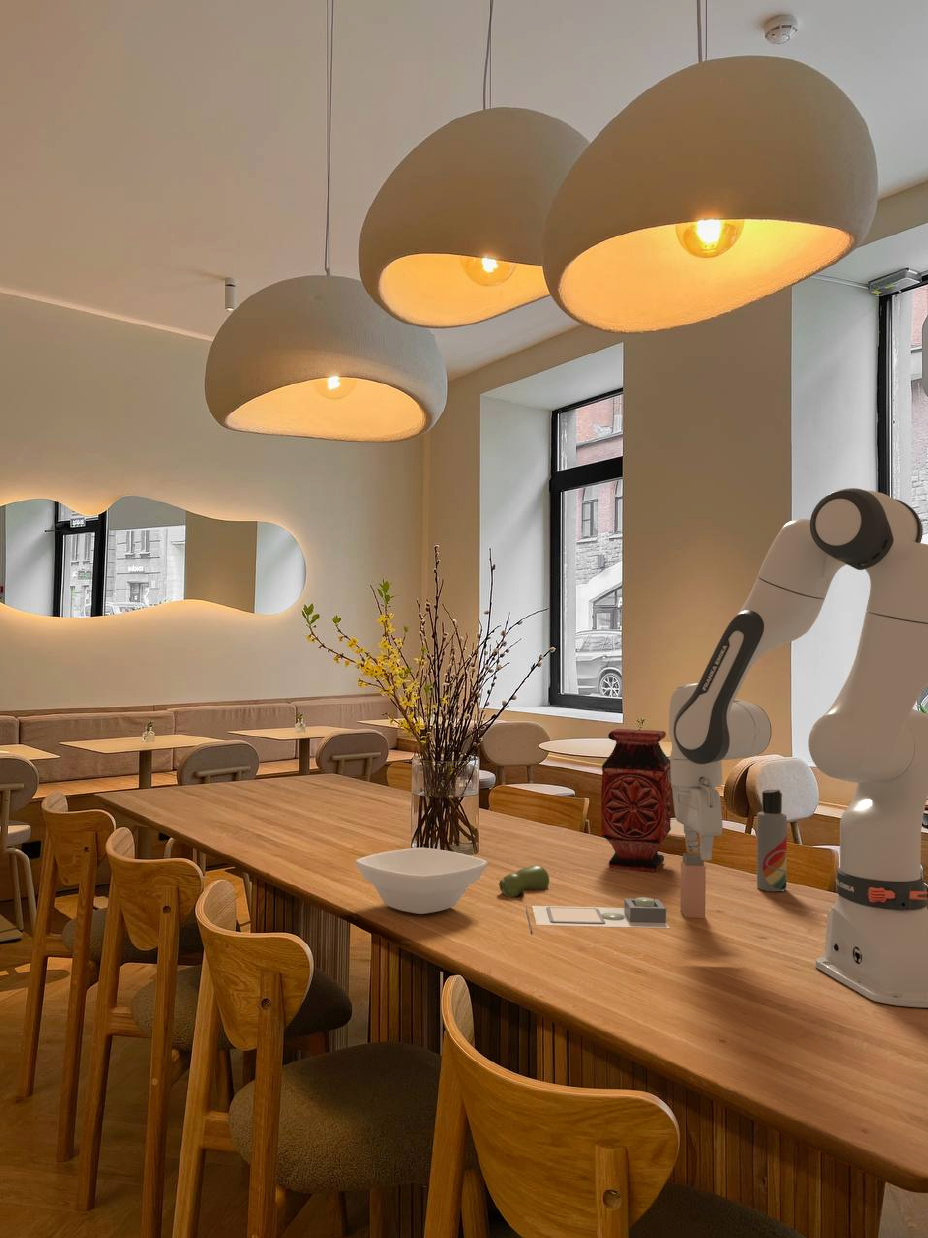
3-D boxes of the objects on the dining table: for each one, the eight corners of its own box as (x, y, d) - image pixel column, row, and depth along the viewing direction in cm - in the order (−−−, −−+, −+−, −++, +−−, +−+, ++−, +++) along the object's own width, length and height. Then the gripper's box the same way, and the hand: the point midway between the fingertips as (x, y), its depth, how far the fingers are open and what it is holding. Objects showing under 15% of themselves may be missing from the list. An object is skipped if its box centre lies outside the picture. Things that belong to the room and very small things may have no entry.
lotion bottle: (788, 893, 181) (788, 792, 182) (758, 891, 183) (759, 790, 184) (784, 886, 187) (784, 788, 188) (755, 884, 188) (755, 787, 189)
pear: (551, 866, 176) (504, 878, 173) (555, 893, 176) (508, 905, 173) (539, 859, 181) (493, 871, 178) (543, 886, 181) (497, 898, 178)
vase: (599, 868, 200) (601, 731, 201) (610, 856, 213) (612, 727, 214) (664, 874, 195) (665, 734, 197) (671, 862, 208) (672, 730, 210)
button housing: (665, 922, 154) (665, 908, 154) (630, 921, 154) (630, 907, 154) (658, 913, 160) (658, 899, 160) (624, 912, 160) (624, 898, 160)
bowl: (501, 909, 165) (502, 861, 166) (421, 932, 150) (422, 879, 150) (420, 888, 179) (421, 844, 179) (339, 908, 164) (340, 859, 164)
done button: (655, 916, 156) (655, 902, 156) (637, 916, 156) (637, 901, 156) (652, 911, 159) (652, 897, 159) (633, 911, 159) (633, 897, 159)
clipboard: (676, 937, 150) (676, 928, 150) (531, 933, 150) (531, 925, 150) (659, 914, 164) (659, 906, 164) (525, 910, 164) (526, 902, 164)
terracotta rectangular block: (705, 924, 158) (705, 857, 159) (685, 923, 158) (685, 856, 159) (700, 918, 162) (700, 853, 162) (680, 918, 162) (680, 852, 162)
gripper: (730, 780, 151) (733, 865, 149) (700, 771, 171) (702, 846, 170) (692, 780, 151) (695, 865, 149) (666, 771, 171) (668, 846, 170)
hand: (698, 855), depth 160 cm, fingers open, 8 cm apart
